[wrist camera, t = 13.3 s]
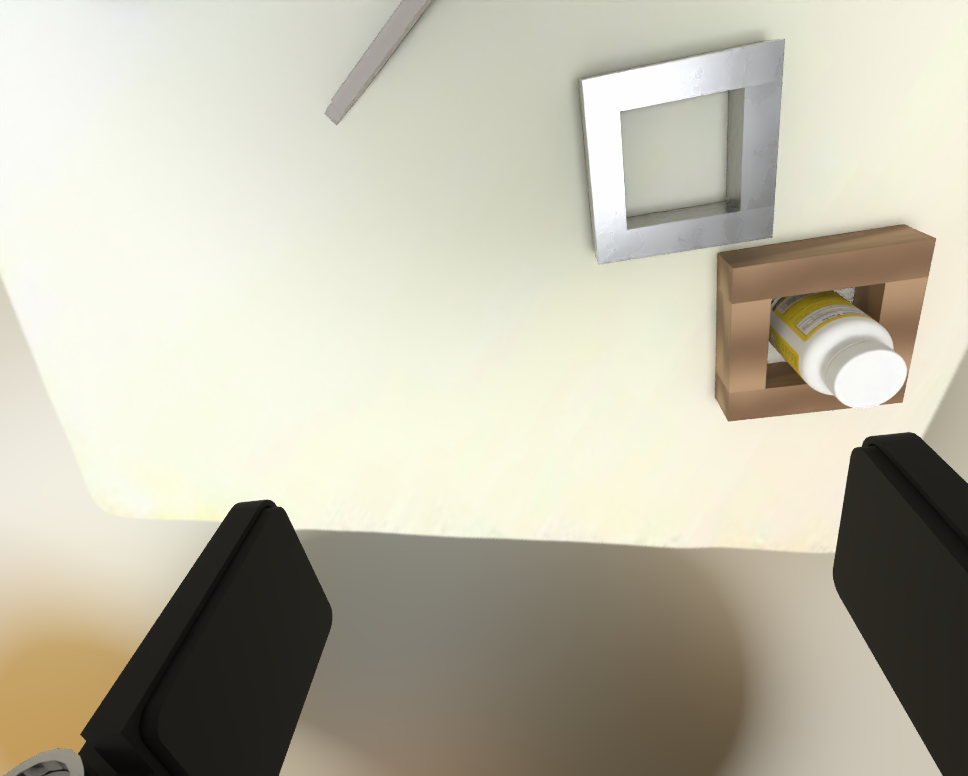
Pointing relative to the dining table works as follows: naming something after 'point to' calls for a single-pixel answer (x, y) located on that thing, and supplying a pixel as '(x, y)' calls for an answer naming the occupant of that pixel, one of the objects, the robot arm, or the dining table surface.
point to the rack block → (802, 270)
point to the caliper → (376, 57)
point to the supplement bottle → (837, 348)
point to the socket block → (749, 150)
